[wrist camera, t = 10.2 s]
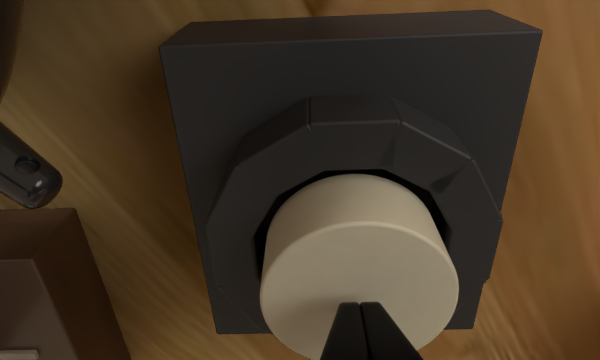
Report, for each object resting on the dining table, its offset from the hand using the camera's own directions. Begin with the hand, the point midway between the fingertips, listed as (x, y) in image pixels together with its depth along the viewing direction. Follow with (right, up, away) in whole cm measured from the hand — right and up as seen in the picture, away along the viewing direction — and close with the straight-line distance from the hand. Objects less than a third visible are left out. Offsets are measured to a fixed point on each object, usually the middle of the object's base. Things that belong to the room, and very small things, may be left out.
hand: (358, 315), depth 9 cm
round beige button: (0, +1, +2) cm, 2 cm away
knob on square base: (0, +4, +6) cm, 7 cm away
